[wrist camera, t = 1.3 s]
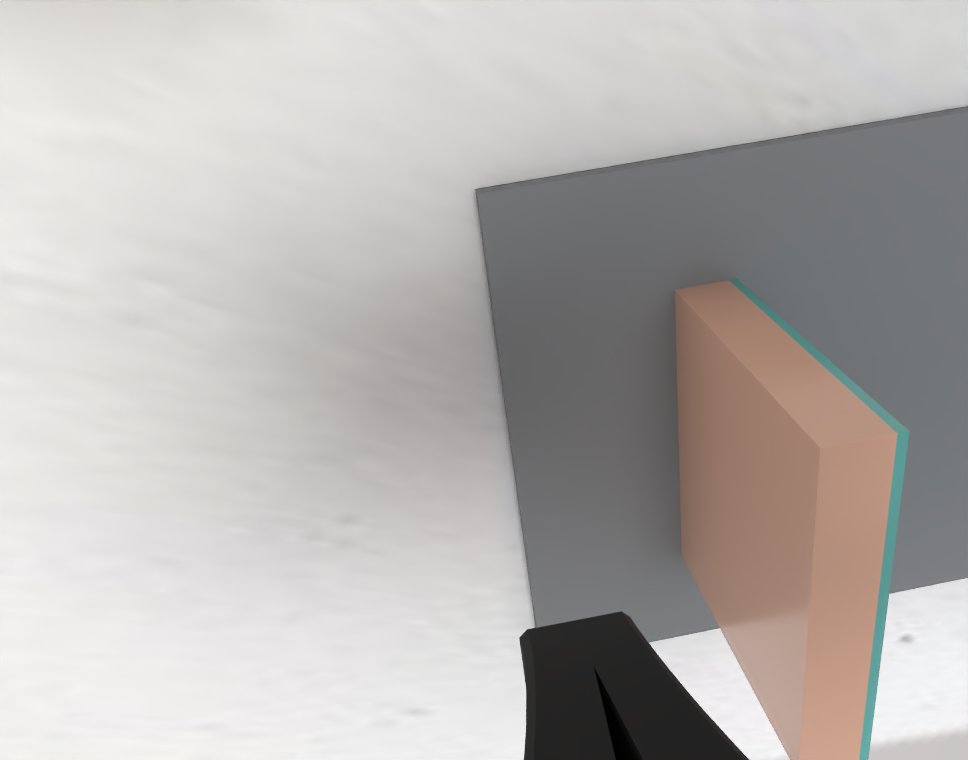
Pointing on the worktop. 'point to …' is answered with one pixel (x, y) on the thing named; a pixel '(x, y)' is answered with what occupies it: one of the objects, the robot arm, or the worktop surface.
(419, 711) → the worktop surface
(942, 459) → the rubber mat
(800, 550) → the glazed tile
